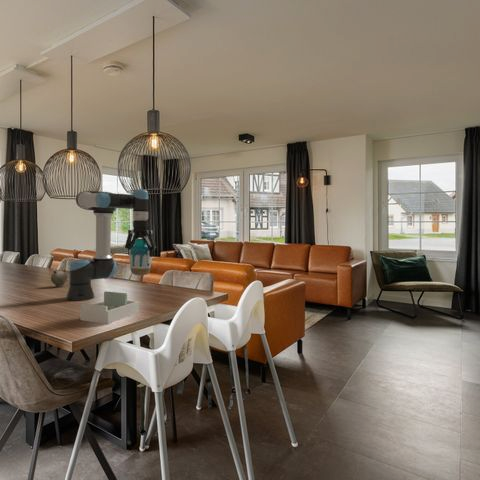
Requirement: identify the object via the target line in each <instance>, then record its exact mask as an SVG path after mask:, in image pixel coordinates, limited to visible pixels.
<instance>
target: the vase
mask: <svg viewBox="0 0 480 480" xmlns="http://www.w3.org/2000/svg"><path fill="white" fill-rule="evenodd" d="M148 251H149V249H148V247H147V245H146V243H145V241H144V239H143V238H138V239H135V245H134V246H133V247H132V248H131V251H130V262H129V269H130V272H131V273H132V275H134V276H139V277H141V276H142V277H143V276H146V275H148V274H149V273H150V271H151V268H152V267H151V266H152V263H148Z"/></svg>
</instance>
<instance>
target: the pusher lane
mask: <svg viewBox="0 0 480 480" xmlns="http://www.w3.org/2000/svg"><path fill="white" fill-rule="evenodd" d="M79 313H80V314H79V315H80V318H79V319H80V321H82V322H91V323H98V324H104V323H107V325H110V324H112V322H113V323H115V322H118V321H120V319H121V320H123V319H122V318H124V319H126V318H128V316H129V317H132V316H135V315H137V314H140V301H136V300H128V299H127V305H124V306H121V307H118V308H114V309H111V310H108V306H104V300H103V301H100V302H97V303H93V304H92V303H82V305H81V307H80V312H79ZM136 313H137V314H136ZM134 314H135V315H134ZM131 315H132V316H131ZM125 317H126V318H125ZM117 320H118V321H117ZM114 321H115V322H114ZM109 323H110V324H109Z"/></svg>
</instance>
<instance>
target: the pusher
mask: <svg viewBox="0 0 480 480" xmlns="http://www.w3.org/2000/svg"><path fill="white" fill-rule="evenodd" d="M127 300H128V293H127V292H116V291H107V290H105V291H103V301H104V306H108V310H111V309H114V308H118V307H121V306H124V305H127Z"/></svg>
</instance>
